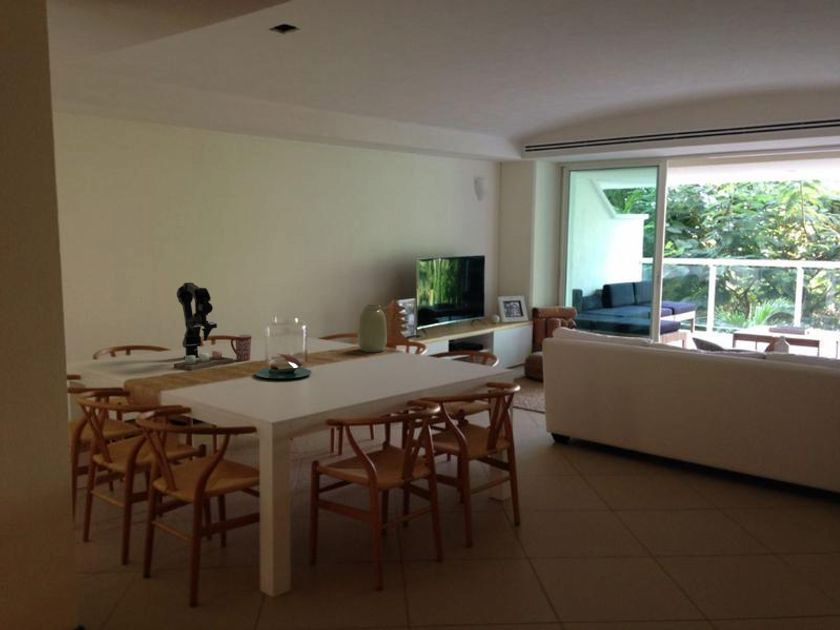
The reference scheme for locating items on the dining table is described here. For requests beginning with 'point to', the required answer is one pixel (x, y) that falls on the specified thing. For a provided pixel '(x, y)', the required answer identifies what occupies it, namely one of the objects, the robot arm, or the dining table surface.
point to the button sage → (190, 360)
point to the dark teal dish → (284, 370)
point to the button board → (203, 364)
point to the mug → (242, 347)
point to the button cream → (203, 357)
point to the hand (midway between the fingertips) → (201, 340)
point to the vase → (372, 329)
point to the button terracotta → (216, 355)
